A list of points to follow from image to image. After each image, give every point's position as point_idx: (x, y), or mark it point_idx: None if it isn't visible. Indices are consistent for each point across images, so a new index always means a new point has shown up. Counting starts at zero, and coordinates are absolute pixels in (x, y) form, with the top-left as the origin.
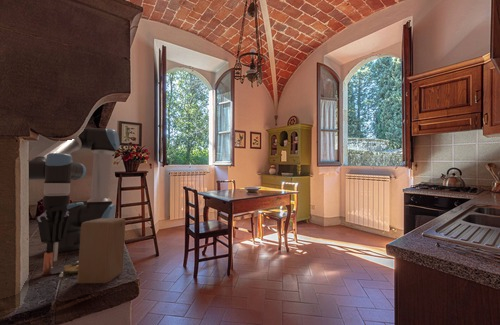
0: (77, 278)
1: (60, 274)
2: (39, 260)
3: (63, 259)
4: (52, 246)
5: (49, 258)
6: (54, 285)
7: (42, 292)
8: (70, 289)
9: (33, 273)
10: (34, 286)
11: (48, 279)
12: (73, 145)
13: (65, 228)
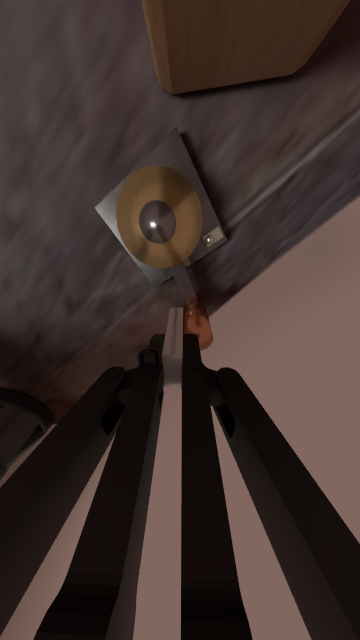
0: (323, 38)
1: (219, 236)
2: None
3: (73, 364)
4: (188, 350)
5: (204, 316)
6: (262, 211)
7: (319, 199)
8: (328, 78)
9: None
10: (258, 273)
11: (208, 280)
12: None
13: (65, 443)
